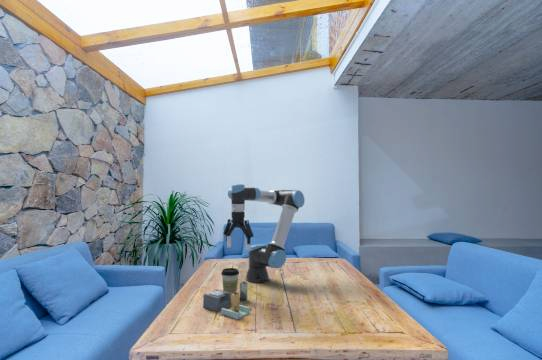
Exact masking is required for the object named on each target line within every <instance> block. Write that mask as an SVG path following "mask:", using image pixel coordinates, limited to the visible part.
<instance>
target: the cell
mask: <svg viewBox="0 0 542 360" xmlns="http://www.w3.org/2000/svg"><path fill="white" fill-rule="evenodd" d="M239 305H240V292H237V291H236V292H233V293H231V306H230V309H231V311H235V312H238V313H239Z"/></svg>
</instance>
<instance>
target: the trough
mask: <svg viewBox="0 0 542 360" xmlns="http://www.w3.org/2000/svg"><path fill="white" fill-rule="evenodd" d="M250 309H251V308H250V307H249V306H246V305H243V304H242V305H241V304H239V313H238V312H235V311H231V308H230V309H228V308H222V309H221V310H220V311H221V313H220V315H222V316H225V317H227V318H231V319H234V320H239V319H241V318H244V317H245V316H247V315H249V314H250Z"/></svg>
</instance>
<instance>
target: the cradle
mask: <svg viewBox="0 0 542 360" xmlns="http://www.w3.org/2000/svg"><path fill="white" fill-rule="evenodd" d="M217 290H218V291H222V292H225V293H226V296H223V297H221V298H220V297H216V296H213V295H209V293H203V301H202V302H203V303H202V304H203V306H202V307H203V308H205V309H207V310H211V311H215V312H217V313H218V312H220V311H221V309H222V308H225V309H228V308H229V307H231V293H230V292H226V291H223V289H222V290H221V289H218V288H216V289H215V291H217Z"/></svg>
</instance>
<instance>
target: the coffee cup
mask: <svg viewBox="0 0 542 360" xmlns="http://www.w3.org/2000/svg"><path fill="white" fill-rule="evenodd" d="M239 274H240V271H239V269H238V268H234V267H228V268H227V267H226V268H223V269H222V271H221V275H222V276H221V277H222V280H221V281H222V288H223V289H222V291H226V292H230V293H233V292H237V290H238V283H239V282H238V281H239Z"/></svg>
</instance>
